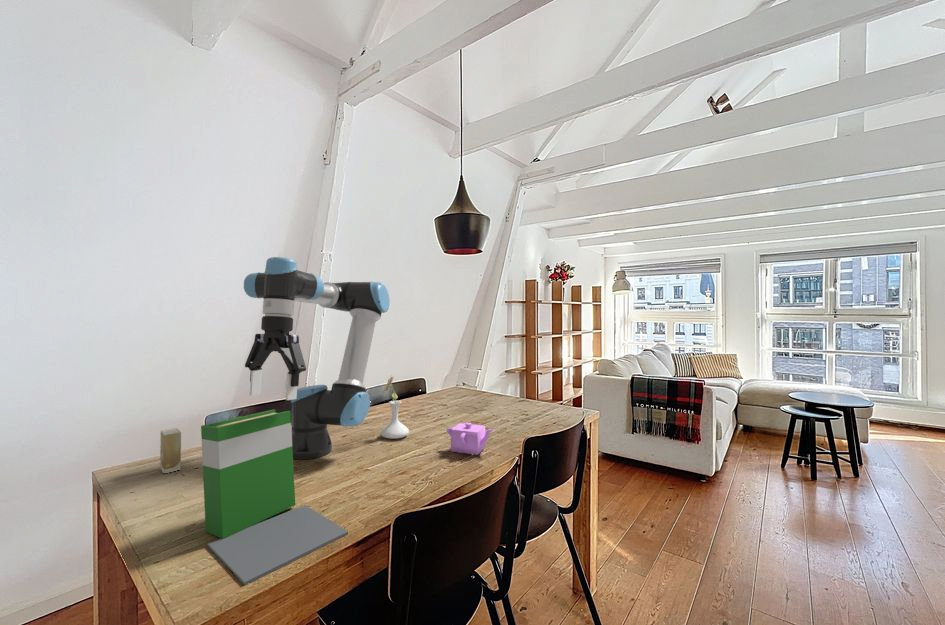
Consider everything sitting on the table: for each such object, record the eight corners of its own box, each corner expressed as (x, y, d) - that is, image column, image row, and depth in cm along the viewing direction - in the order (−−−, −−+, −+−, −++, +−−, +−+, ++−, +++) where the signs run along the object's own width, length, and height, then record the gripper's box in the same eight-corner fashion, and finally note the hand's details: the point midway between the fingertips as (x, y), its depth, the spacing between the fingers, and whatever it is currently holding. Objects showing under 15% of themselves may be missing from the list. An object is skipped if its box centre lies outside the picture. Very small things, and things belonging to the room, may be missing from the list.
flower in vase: (386, 431, 166) (386, 371, 166) (412, 432, 165) (413, 372, 165) (374, 441, 154) (374, 376, 153) (402, 443, 152) (403, 377, 152)
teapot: (498, 448, 148) (499, 421, 147) (488, 462, 134) (488, 432, 134) (453, 443, 153) (453, 416, 153) (438, 455, 140) (438, 426, 140)
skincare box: (159, 469, 126) (159, 430, 126) (176, 465, 129) (176, 427, 129) (163, 475, 122) (164, 434, 122) (181, 470, 125) (181, 431, 125)
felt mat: (207, 546, 86) (207, 543, 86) (305, 507, 103) (305, 504, 103) (244, 585, 74) (244, 582, 74) (348, 534, 91) (348, 531, 91)
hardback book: (278, 500, 107) (273, 409, 107) (295, 505, 103) (290, 410, 104) (205, 531, 92) (201, 425, 92) (222, 538, 88) (217, 428, 89)
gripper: (233, 315, 109) (228, 394, 107) (300, 314, 98) (294, 403, 96) (259, 317, 115) (253, 391, 114) (323, 317, 105) (318, 399, 103)
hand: (272, 397), depth 105 cm, fingers open, 13 cm apart
